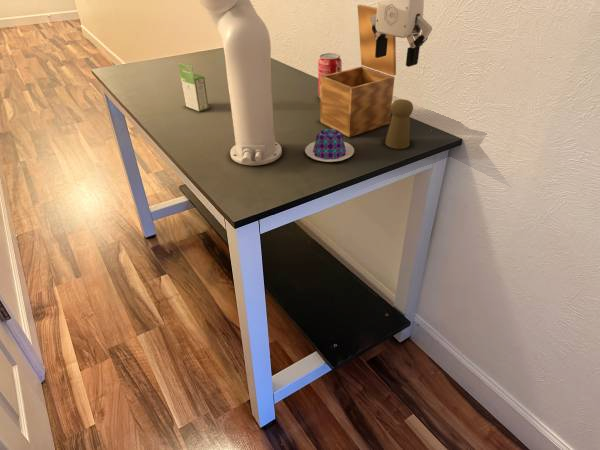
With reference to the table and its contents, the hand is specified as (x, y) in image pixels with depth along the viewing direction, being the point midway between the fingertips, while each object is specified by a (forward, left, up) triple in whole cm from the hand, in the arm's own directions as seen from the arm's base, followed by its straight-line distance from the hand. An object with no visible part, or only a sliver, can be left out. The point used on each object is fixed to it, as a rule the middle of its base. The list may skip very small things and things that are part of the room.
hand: (395, 60), depth 97 cm
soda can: (+30, +13, -20) cm, 38 cm away
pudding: (-8, +15, -20) cm, 26 cm away
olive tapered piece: (-3, -2, -20) cm, 20 cm away
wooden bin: (+10, +7, -19) cm, 23 cm away
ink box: (+24, +54, -20) cm, 63 cm away
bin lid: (+13, +3, +1) cm, 14 cm away
